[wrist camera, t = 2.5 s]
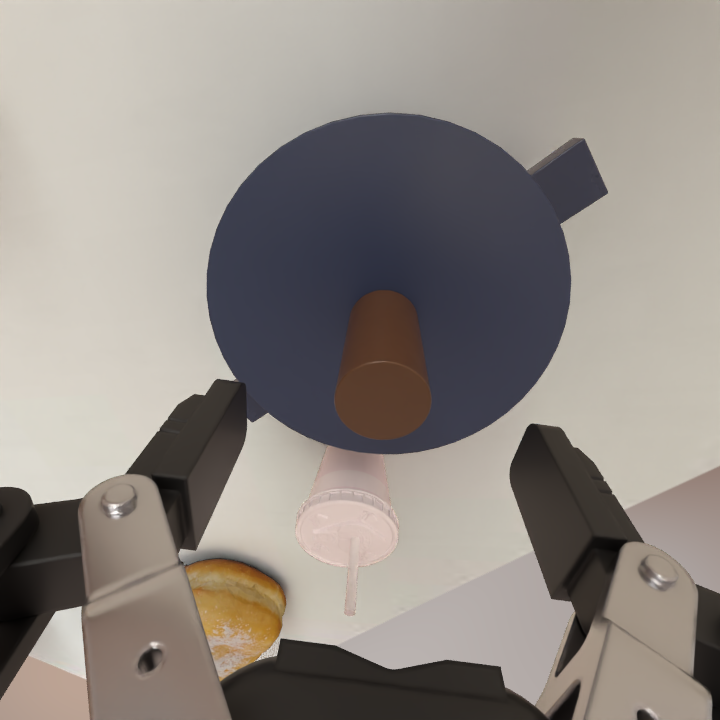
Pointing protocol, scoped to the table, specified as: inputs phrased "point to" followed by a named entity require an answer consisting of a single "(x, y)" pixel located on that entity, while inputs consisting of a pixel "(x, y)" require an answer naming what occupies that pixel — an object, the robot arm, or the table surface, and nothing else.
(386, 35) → the table surface
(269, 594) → the bread
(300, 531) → the smoothie
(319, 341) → the lid
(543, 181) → the pot
